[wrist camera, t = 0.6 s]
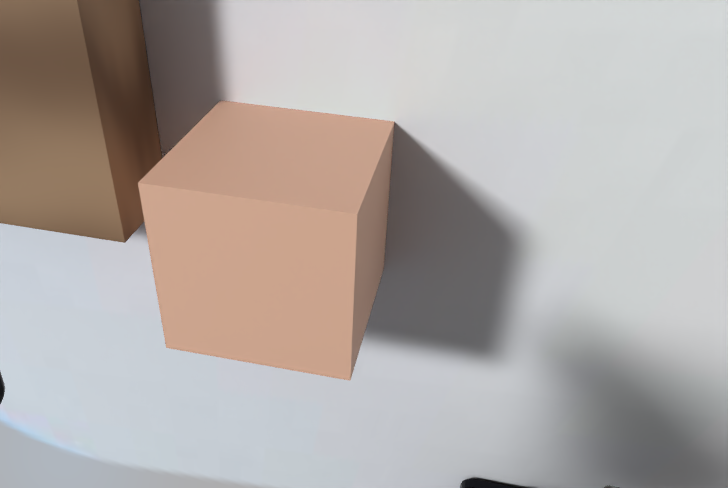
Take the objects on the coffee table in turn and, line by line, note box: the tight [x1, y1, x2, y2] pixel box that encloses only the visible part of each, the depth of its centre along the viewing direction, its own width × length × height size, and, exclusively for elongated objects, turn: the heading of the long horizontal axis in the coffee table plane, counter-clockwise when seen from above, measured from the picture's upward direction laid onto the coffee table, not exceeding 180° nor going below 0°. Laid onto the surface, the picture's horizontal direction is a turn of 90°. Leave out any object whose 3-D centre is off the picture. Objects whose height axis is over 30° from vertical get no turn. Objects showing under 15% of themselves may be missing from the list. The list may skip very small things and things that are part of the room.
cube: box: [138, 100, 394, 380], centre depth 20 cm, size 6×6×6 cm
